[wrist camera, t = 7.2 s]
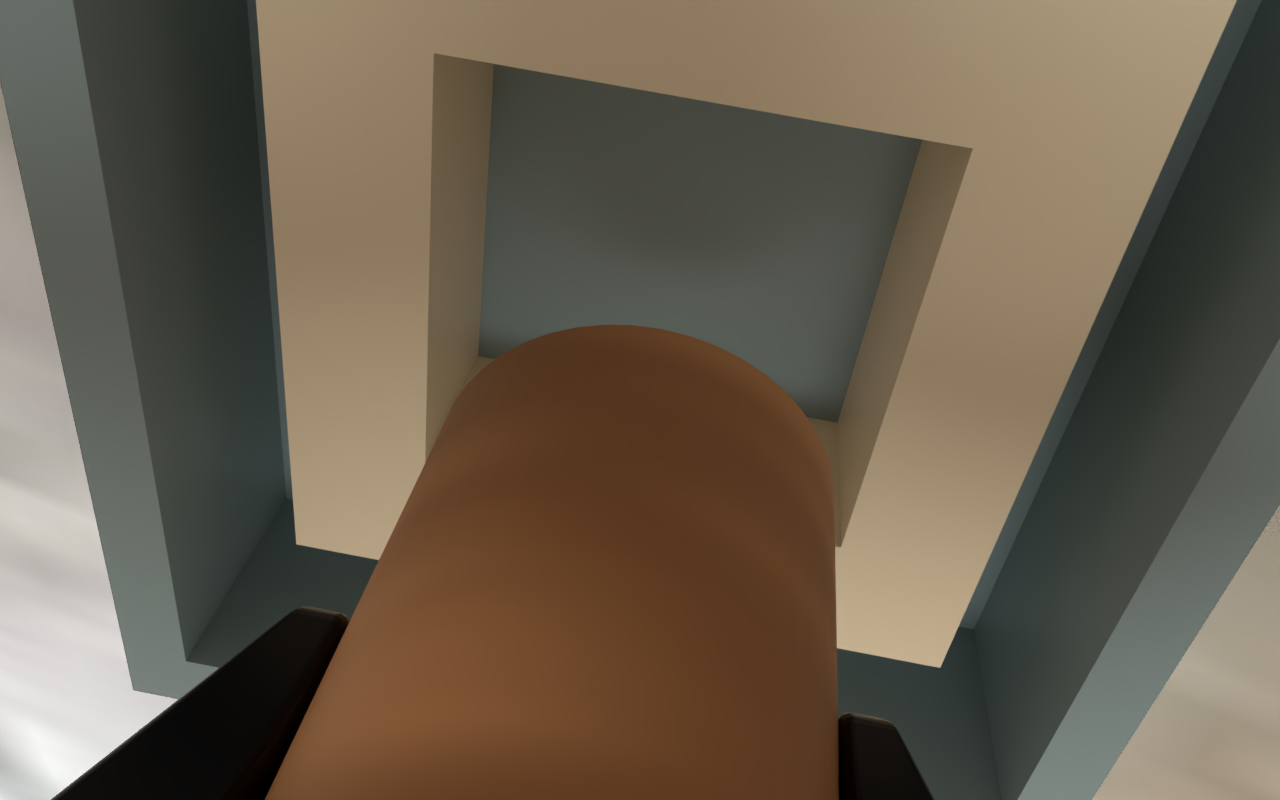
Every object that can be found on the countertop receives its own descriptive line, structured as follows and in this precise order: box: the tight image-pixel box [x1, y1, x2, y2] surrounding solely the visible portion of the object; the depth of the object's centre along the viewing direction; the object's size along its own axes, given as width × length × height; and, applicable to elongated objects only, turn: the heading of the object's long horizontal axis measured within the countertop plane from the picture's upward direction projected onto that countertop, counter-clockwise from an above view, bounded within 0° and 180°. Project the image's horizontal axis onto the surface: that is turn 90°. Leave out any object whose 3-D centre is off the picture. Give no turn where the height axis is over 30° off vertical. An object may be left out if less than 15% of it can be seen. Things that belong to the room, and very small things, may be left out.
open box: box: [0, 0, 1280, 800], centre depth 15 cm, size 15×16×4 cm
